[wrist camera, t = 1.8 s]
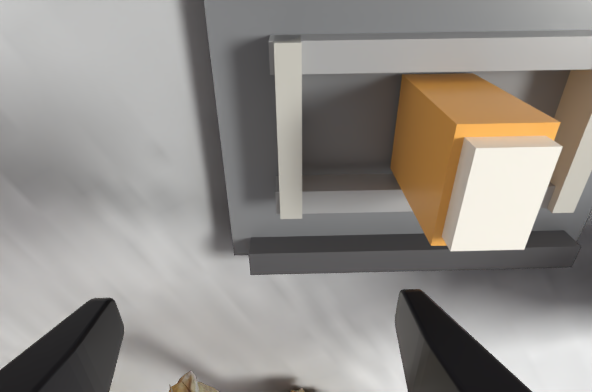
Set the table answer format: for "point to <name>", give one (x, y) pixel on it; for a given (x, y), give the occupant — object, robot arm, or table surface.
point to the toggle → (472, 160)
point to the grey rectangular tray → (380, 102)
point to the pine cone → (196, 385)
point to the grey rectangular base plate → (400, 254)
